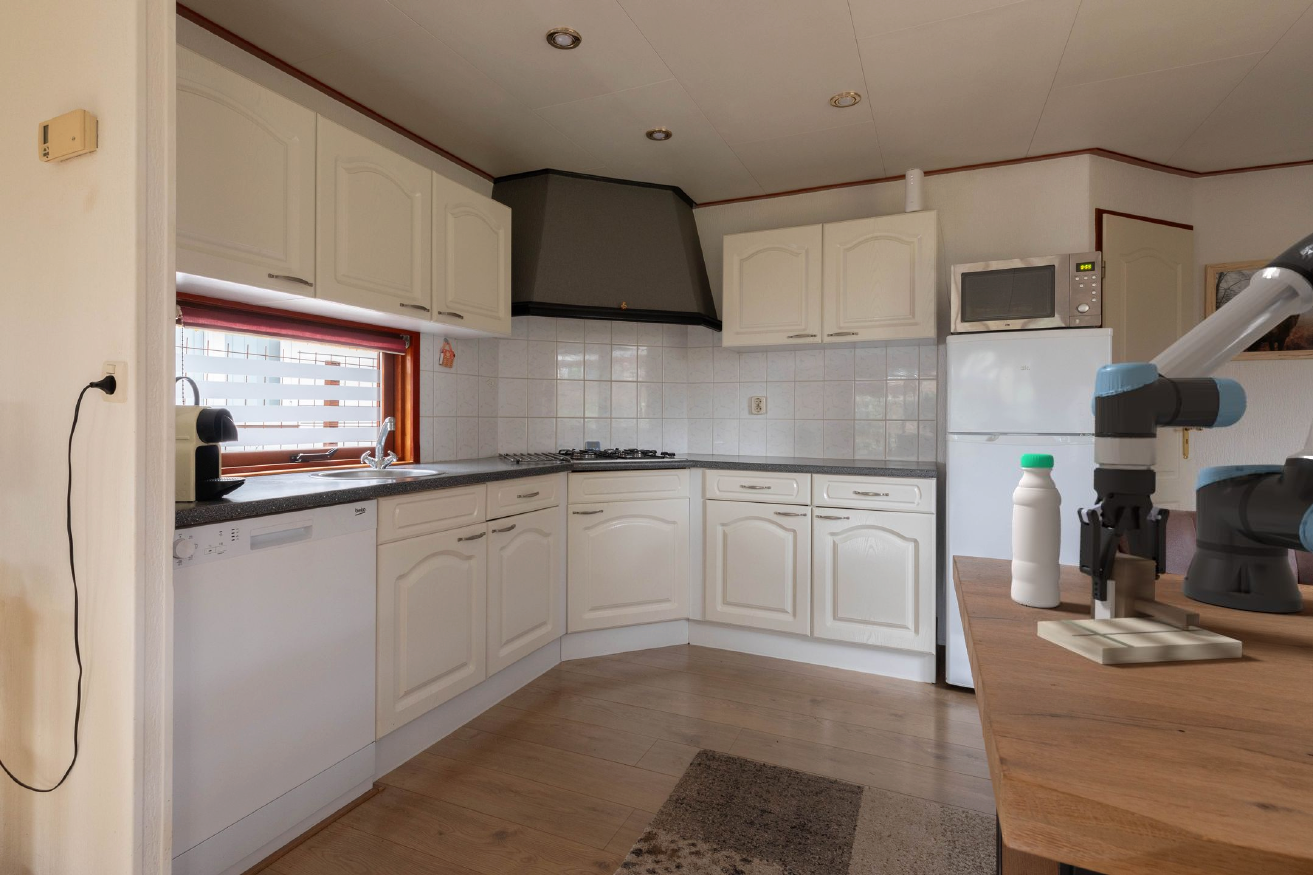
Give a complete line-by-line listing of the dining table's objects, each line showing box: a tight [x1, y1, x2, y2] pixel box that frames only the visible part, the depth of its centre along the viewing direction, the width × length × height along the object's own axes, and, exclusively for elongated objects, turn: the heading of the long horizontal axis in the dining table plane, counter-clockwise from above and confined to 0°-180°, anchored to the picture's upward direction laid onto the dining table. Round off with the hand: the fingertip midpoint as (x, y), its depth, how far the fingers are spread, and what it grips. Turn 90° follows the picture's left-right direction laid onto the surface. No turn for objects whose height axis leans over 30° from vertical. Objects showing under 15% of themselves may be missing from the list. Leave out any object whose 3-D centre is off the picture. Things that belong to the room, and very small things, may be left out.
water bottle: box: [1010, 453, 1062, 609], centre depth 107 cm, size 7×7×25 cm
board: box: [1037, 616, 1243, 665], centre depth 86 cm, size 20×11×2 cm, turn 98°
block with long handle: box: [1090, 552, 1200, 630], centre depth 92 cm, size 5×14×10 cm, turn 8°
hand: (1121, 621), depth 96 cm, fingers closed on block with long handle, 5 cm apart
